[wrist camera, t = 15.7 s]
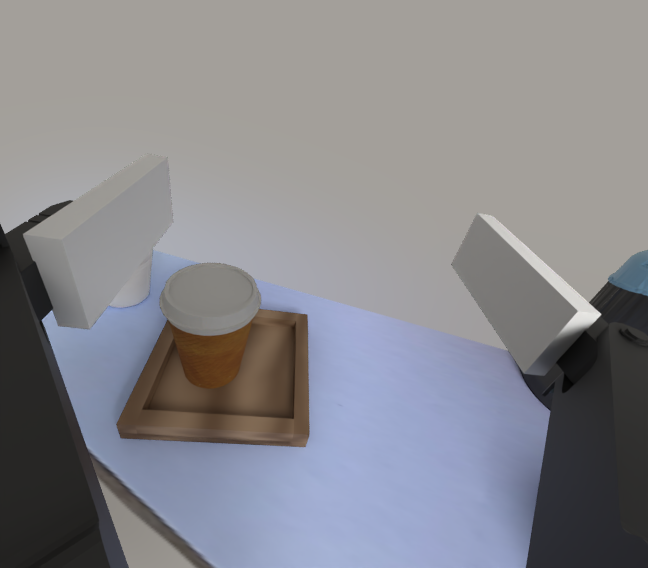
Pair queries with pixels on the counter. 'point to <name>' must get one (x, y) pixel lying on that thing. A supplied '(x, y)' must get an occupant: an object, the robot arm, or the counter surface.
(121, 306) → the cup
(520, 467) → the counter surface
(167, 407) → the tray
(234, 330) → the disposable coffee cup
